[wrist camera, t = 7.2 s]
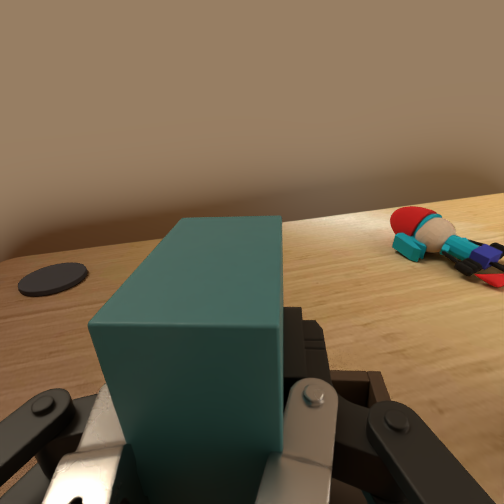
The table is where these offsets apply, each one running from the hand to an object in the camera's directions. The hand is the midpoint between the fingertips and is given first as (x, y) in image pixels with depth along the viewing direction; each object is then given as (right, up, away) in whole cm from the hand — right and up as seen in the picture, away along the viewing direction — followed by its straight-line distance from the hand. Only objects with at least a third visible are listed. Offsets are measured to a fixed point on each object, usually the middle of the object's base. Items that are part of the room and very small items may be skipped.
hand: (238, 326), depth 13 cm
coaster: (-23, 0, +25) cm, 33 cm away
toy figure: (+23, +2, +25) cm, 34 cm away
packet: (0, -9, +1) cm, 9 cm away
